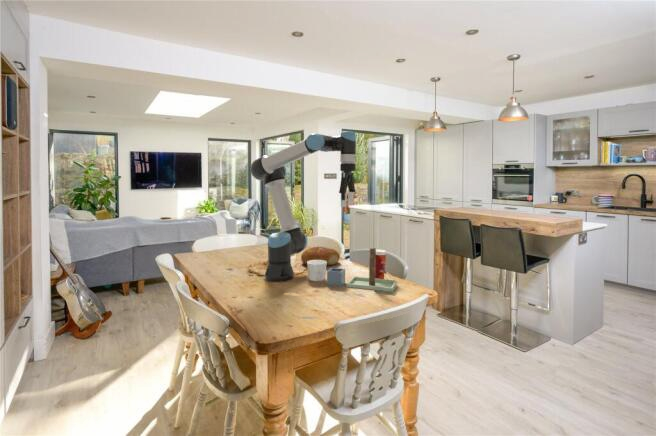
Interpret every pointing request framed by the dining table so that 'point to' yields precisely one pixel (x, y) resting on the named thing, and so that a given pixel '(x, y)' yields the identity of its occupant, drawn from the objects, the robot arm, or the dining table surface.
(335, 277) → the pot
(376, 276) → the coffee cup
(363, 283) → the tray
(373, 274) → the dowel
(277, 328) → the dining table surface
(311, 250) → the bread
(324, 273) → the cup
